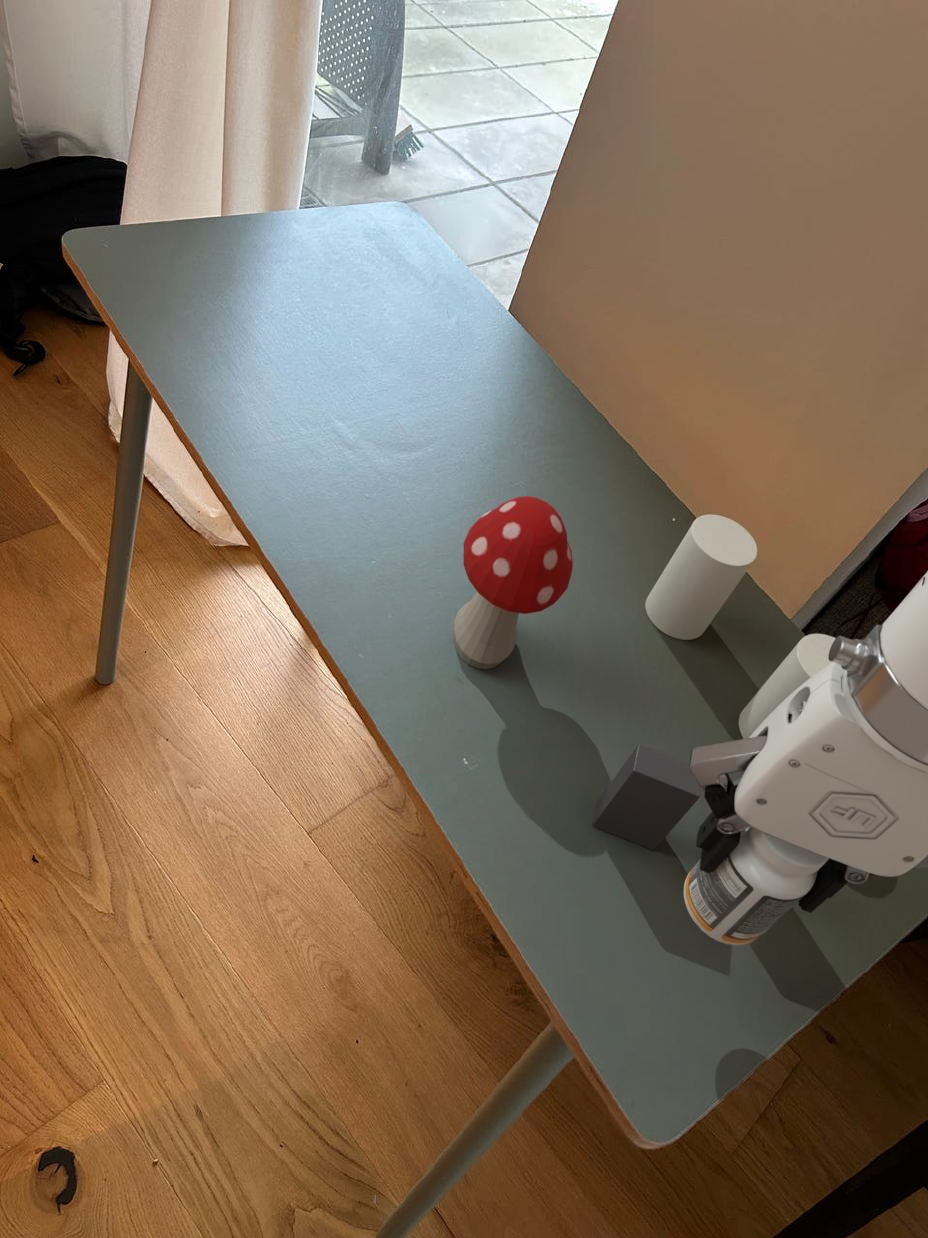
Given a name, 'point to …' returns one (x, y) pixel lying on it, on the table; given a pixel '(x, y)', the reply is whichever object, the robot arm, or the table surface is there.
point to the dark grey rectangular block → (647, 798)
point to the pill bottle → (750, 887)
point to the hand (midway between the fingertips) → (756, 869)
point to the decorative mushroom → (510, 576)
